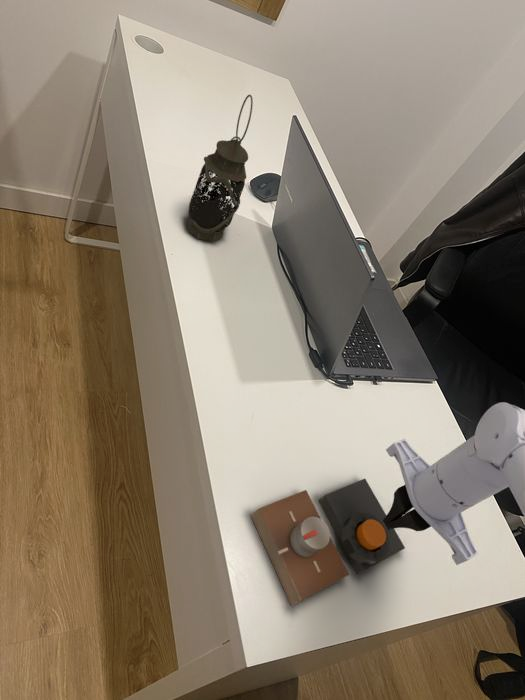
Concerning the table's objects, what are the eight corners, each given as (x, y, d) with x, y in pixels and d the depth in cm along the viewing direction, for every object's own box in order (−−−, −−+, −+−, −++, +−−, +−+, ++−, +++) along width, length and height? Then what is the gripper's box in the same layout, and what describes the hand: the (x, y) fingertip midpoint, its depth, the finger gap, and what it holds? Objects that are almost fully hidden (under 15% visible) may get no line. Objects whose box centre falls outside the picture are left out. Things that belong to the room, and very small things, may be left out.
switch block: (396, 552, 72) (412, 544, 69) (350, 578, 67) (365, 570, 64) (358, 483, 77) (371, 473, 74) (311, 503, 72) (324, 492, 69)
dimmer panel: (339, 579, 66) (350, 573, 64) (290, 606, 62) (301, 601, 59) (298, 497, 71) (307, 488, 69) (250, 516, 67) (258, 508, 65)
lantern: (182, 209, 102) (223, 74, 81) (224, 219, 105) (274, 91, 84) (183, 240, 96) (228, 104, 76) (228, 250, 99) (282, 121, 79)
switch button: (383, 544, 68) (390, 540, 66) (365, 554, 66) (372, 550, 64) (370, 519, 69) (376, 515, 68) (351, 528, 67) (357, 524, 66)
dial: (308, 521, 66) (321, 511, 64) (323, 550, 65) (336, 541, 62) (284, 532, 64) (296, 522, 61) (299, 562, 62) (312, 553, 60)
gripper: (523, 530, 52) (443, 565, 62) (443, 414, 59) (382, 463, 69) (484, 556, 49) (406, 589, 58) (402, 429, 55) (344, 478, 65)
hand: (390, 522), depth 63 cm, fingers closed
